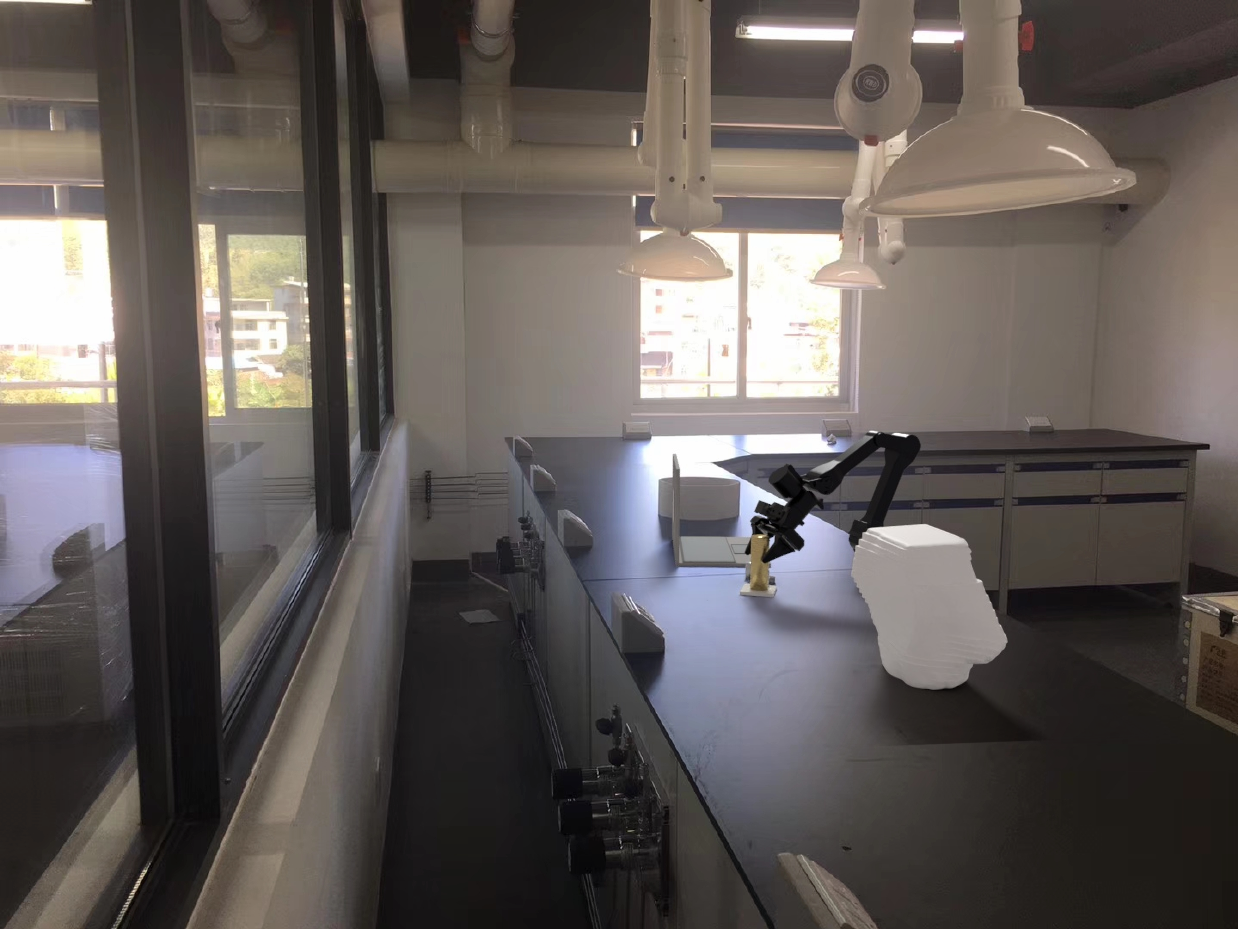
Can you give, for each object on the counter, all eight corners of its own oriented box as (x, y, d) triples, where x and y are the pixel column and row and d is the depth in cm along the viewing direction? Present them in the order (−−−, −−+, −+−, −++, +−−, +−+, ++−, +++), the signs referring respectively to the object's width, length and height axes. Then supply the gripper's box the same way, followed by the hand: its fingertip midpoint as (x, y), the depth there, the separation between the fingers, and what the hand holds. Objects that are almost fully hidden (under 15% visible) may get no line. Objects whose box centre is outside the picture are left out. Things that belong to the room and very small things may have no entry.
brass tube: (766, 586, 229) (768, 534, 227) (769, 591, 224) (770, 538, 223) (748, 586, 229) (750, 534, 227) (751, 590, 224) (752, 538, 223)
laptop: (770, 568, 252) (773, 469, 248) (674, 567, 253) (675, 469, 249) (756, 541, 287) (757, 454, 283) (671, 540, 287) (672, 453, 284)
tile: (777, 588, 229) (777, 585, 229) (773, 597, 222) (773, 594, 222) (744, 586, 232) (745, 583, 232) (739, 594, 224) (739, 591, 224)
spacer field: (777, 578, 239) (777, 563, 239) (772, 588, 230) (772, 572, 229) (746, 576, 242) (746, 561, 241) (739, 585, 232) (740, 570, 232)
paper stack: (941, 650, 184) (947, 522, 180) (1008, 702, 157) (1016, 554, 154) (837, 653, 182) (841, 524, 179) (887, 706, 155) (893, 556, 152)
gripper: (757, 483, 233) (717, 529, 231) (794, 495, 216) (750, 544, 214) (784, 512, 237) (745, 557, 235) (823, 526, 219) (780, 575, 217)
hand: (754, 558), depth 225 cm, fingers open, 9 cm apart
